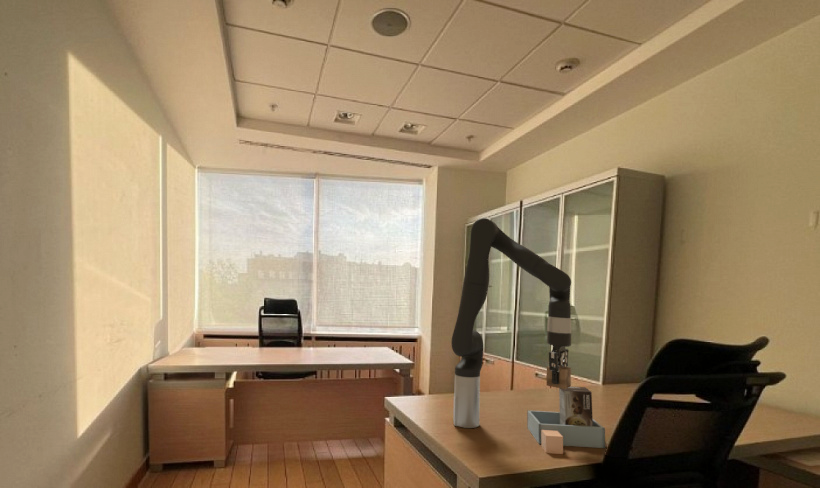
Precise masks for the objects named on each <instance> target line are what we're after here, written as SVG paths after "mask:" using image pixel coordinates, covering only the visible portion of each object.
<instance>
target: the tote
mask: <svg viewBox="0 0 820 488" xmlns="http://www.w3.org/2000/svg"><path fill="white" fill-rule="evenodd" d="M526 416H527V419H526V420H527V422H526V423H527V429H528V431H529V432H530V433H531V435H532V436H533V438H534V439H535V440H536V442H537V443H538V444H539V445H541V430H552V431H558V432H559V433H560V434H561V435H562V436H563V447H566V446H567V447H580V448H581V447H582V448H599V449H606V428H605V427H604V426H603V425H601V424H600V423H599V422H598V421H596V420H595V419H594V418H593V427H592V426H575V425H560V411H559V412H558V411H543V410H527V415H526Z"/></svg>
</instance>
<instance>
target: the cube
mask: <svg viewBox="0 0 820 488" xmlns="http://www.w3.org/2000/svg"><path fill="white" fill-rule="evenodd" d="M540 445H541V448H542V449H543V450H544V452H545V453H546V454H557V455H564V446H563V436H562V435H561V434H560V433H559V432H558V431H552V430H541V444H540Z"/></svg>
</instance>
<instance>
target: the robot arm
mask: <svg viewBox="0 0 820 488" xmlns="http://www.w3.org/2000/svg"><path fill="white" fill-rule="evenodd" d="M492 248H493V249H495V250H497V251H499V252H500V253H502V254H503V255H505V256H506V257H507V258H509V260H510V261H512V262H513V263H514V264H515V265H517V266H518V267H519V268H521V270H524V271H526V273H528V274H529V275H531V276H533V277H534V278H536V279H538V280H539V281H541V282H542V283H543V284H545V286H547V287H549V291H548V292H549V301H548V313H547V314H548V317H547V327H546V329H547V331H546V333H547V339H546V342H547V344H548V345H550V346H552V350H551V351H549V352H548V366H549V370H551V371H552V383H553V384H559V372H560V366H564V367H569V365H568V363H569V349H568V348H566V347H571V346H572V320H571V318H572V317H571V315H572V314H571V310H572V309H571V302H570V301H571V300H570V299H571V286H572V285H571V284H572V279H571V277H570V276H569V274H567V273H566V272H565V271H563V270H561V269H560V268H558V267H556V265H553V264H551V263H550V262H549V261H547V260H546V259H544V258H543V257H541V256H540V255H538V254H537V253H535V252H534V251H533V250H530V249H529V248H527V247H525V245H524V246H523V245H522V244H520V243H519V242H517V241H515V240H514V239H512V238H511V237H510V236H508V234H507V233H505V232H504V231H503V230H502V229H501V228H499V226H498V225H497V224H496V223H495V222H494V221H493V220H491V219H489V218H487V217H481V218H478V219H477V220H475V222H473V224H472V226H471V230H470V241H469V253H468V260H467V262H466V268H465V272H464V279H463V284H462V289H461V290H462V291H461V295H460V303H459V307H458V311H457V312H458V313H457V317H456V322H455V325H454V329H453V333H452V335H451V336H452V337H451V341H450V342H451V349H452V351H453V353H454V354H455V355H456V356H458V357H461V359H460V360H459V362H458V363H457V364H456V365H455V366H454V390H453V391H454V394H453V420H452V421H453V425H454V427H455V426H456V427H460V428H465V429H473V428H474V429H476V428H477V427H480V415H481V413H480V409H481V408H480V406H481V405H480V403H481V401H480V399H481V398H480V397H481V393H480V392H481V371H482V368H483V360H484V359H483V358H484V340H483V337H482V335H481V334H480V333H479V332H478V331H477V330H474V328H475V322H476V318H477V317H478V315H479V313H480V311H481V310H482V308H483V306H484V304H485V302H486V300H487V296H488V291H489V285H490V262H489V261H490V260H489V259H490V253H491V249H492ZM554 365H555V367H554Z"/></svg>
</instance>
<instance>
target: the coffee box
mask: <svg viewBox="0 0 820 488" xmlns="http://www.w3.org/2000/svg"><path fill="white" fill-rule="evenodd" d="M558 391H559V393H558V397H559V398H558V399H559V412H560V425H575V426H592V427H593V419H594V418H593V398H592V397H593V396H592V395H593V394H592V391H591V390H589V389H588V388H587V387H586V386H585V387H584V386H570V387H569V388H567V389H561V388H558Z"/></svg>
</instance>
